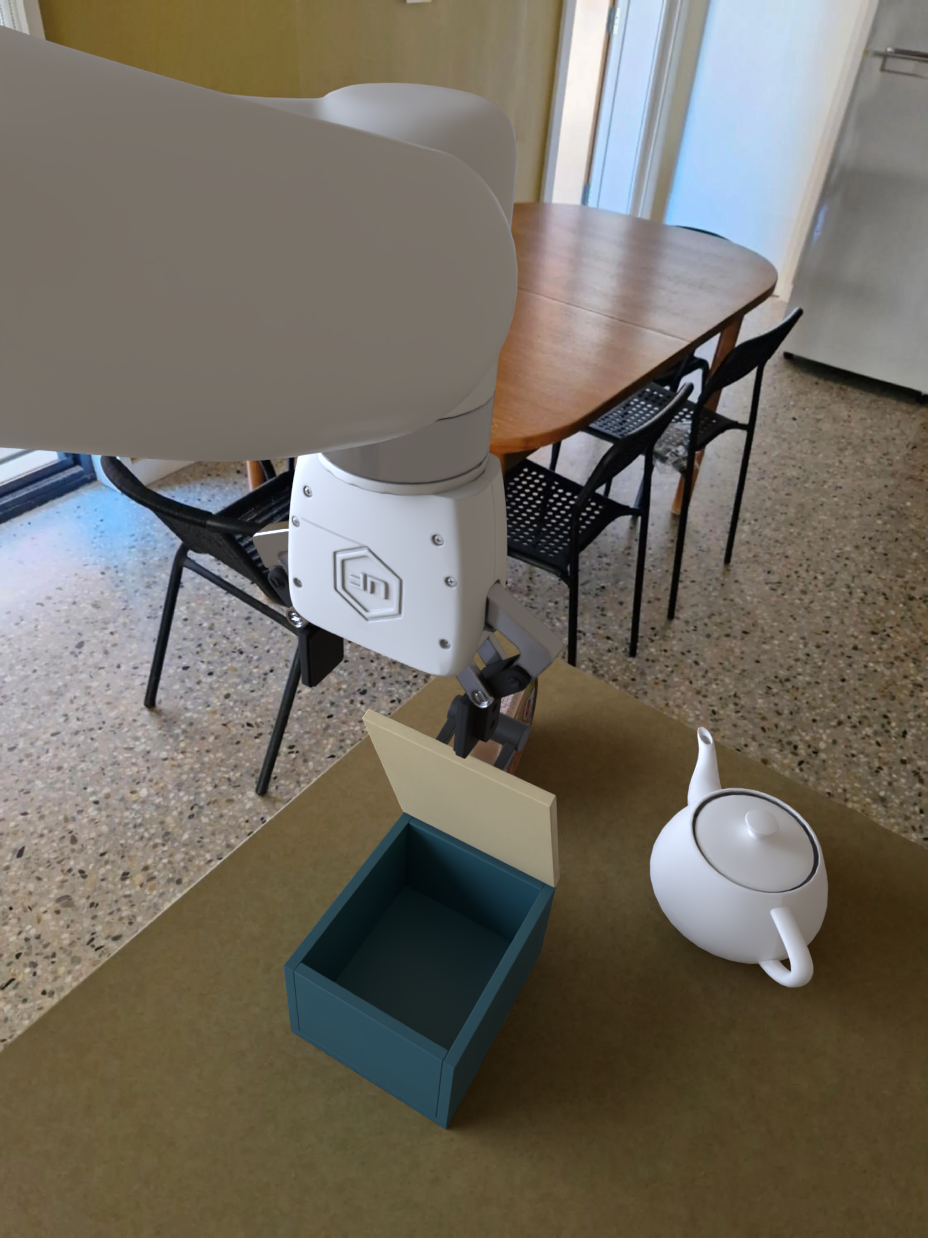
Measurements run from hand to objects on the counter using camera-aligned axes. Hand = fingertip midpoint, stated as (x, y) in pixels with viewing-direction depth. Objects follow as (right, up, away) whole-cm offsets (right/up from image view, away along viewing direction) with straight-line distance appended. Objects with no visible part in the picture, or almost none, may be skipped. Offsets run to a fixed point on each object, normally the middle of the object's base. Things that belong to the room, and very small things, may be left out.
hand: (395, 705), depth 49 cm
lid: (+4, -8, +9) cm, 12 cm away
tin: (+7, -9, +33) cm, 35 cm away
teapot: (+25, -18, +25) cm, 40 cm away
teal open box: (+1, -23, +16) cm, 28 cm away
